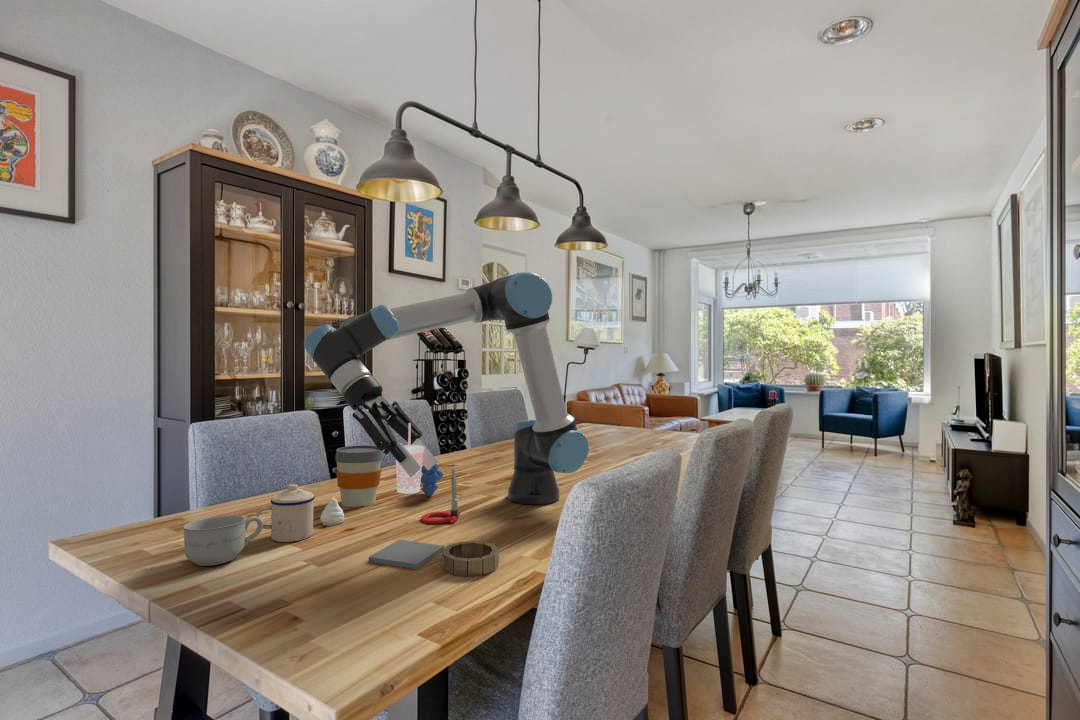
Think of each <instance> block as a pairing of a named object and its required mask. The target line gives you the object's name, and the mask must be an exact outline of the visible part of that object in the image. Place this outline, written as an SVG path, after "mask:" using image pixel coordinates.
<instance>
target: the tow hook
mask: <svg viewBox="0 0 1080 720" xmlns="http://www.w3.org/2000/svg"><path fill="white" fill-rule="evenodd" d="M450 481H451V485H450V486H451V500H450V507H451V508H450V511H443V510H442V511H433V512H427V513H426V514H423V515H422V516H421V517H420V521H421V522H422V523H424V524H428V525H429V524H432V525H434V524H445V523H450V524H454V523H455V522H456V521H457V520H458V518H459V516H460V515H461V512H460V510H459V508H458V506H459V505H458V498H457V477H456V469H455V468H451V478H450ZM440 516H441V517H442V518H433V517H440Z"/></svg>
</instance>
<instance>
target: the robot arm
mask: <svg viewBox="0 0 1080 720" xmlns="http://www.w3.org/2000/svg"><path fill="white" fill-rule="evenodd" d="M552 304H553V291H552V289H551V287H550V285H549V283H548V281H547V280H545V278H544V277H542V276H541V275H539V274H538V273H535V272H532V271H531V272H529V271H524V272H522V271H521V272H516V273H514V274H511V275H507V276H502V277H499V278H496V279H493V280H490V281H489V282H487V283H484V284H481V285H478V286H474V287H470V288H467V290H466V291H465V292H463V293H459V294H455V295H449V296H444V297H441V298H440V297H439V298H436V299H435V298H434V299H431V300H425V301H420V302H417V303H411V304H407V305H402V306H397V307H394V308H393V307H392V308H389V307H388V306H387V305H384V304H379V305H377V306H375V307H373V308H371V309H369V310H368V311H366V312H365V313H363V314H358V315H354V316H348V317H347V318H346V319H344V321H343V322H342V323H341V325H340V326H339V328H337V329H336V328H335V327H333V326H332V325H330V324H322V325H321V326H320V325H318V326H316V327H315V328H313V329H311V331H309V332H308V334H307V335H306V336H305V337H304V338H305V339H304V340H303V347H304V350H305V351H306V352H307V353H308V355H309V356H310V357H311V359H312V361H313V362H314V363H315V365H317V366H318V368H319V369H320V370H321V372H322V373H323V374H324V376H326V378H327V379H328V380H329V381H330V383H331V384H332V385H333V386H334V388H335V389H336V391H337V392H338V393H339V394H340V396H343V399H344V401H345V402H346V403H347V405H348V406H349V407H350V408H351V410H353V411H354V412H353V413H352V414H351V416H352V418H354V419H355V420H356V421H358V422H359V423H358V424H360V425H361V427H362V428H363V429H364V431H365V433H366V434H367V435H368V437H369V438H370V439H371V442H373V443H374V446H377V448H378V449H379V450H380V451H382V454H383V453H384V454H385V455H389V453H390V454H391V455H392V456H393V458H394V459H395V461H396V460H397V461H398V462H399V463H400V465H401V466H402V467H403V468H404V470H405V471H406V472H407V473H408V475H409V476H410V477H412V476H413V475H414V474H415V473H416V472H417V471H418V470H419V469H420V468H421V467H420V466H419V464H418V463H417V462H416V461H415V459H414V458H413V457H412V456H411V454H410V453H409V452H408V451H407V449H406V448H405V447H404V446H403V445H404V444H403V443H402V442H400V443H398V441H397V439H396V437H395V435H394V433H393V431H394V432H395V433H396V434H398V435H399V436H400V437H401V438H402V439H403V440H404V441H405V442H407V443H408V426H409V423H411V445H419V446H424V452H423V457H422V466H423V465H424V466H425V467H426V469H427V470H430V469H431V468H432V467H433V466H434V465H435V464H437V463H438V462H439V461H438V459H436V457H435V456H434V455H433V454H432V453H431V451H430V450H429V448H428V447H426V445H425V444H424V442H423V441H422V440H421V437H422V436H423V432H422V430H420V428H419V427H418V426H417V425H416V424H415V423H414V422H413V421H412V419H411V418H410V417H409V416H408V415H407V414H406V413H405V411H404V410H403V409H402V408H401V406H400V405H399V402H397V401H393V402H391V403H390V402H389V401H388V400H386V399H385V398H384V397H383V396H382V395H383V386H382V385H381V384H380V382H378V381H377V379H376V378H375V377H374V376H372V373H371V372H370V370H369V369H368V368H367V367H366V366H365V365H364V363H363V362H362V361H361V360H360V359H359V358H360V357H361V356H363V355H364V354H366V353H367V352H369V351H371V350H372V349H374V348H376V347H377V346H379V345H381V344H382V343H384V342H386V341H388V340H394V339H398V338H402V337H406V336H411V335H415V334H420V333H424V332H428V331H432V330H437V329H441V328H446V327H449V326H454V325H458V324H462V323H467V322H474V323H476V324H478V323H483V322H489V321H504V325H505V329H506V331H507V332H509V333H510V334H512V335H513V336H514V340H515V344H516V347H517V352H518V355H519V359H520V360H519V361H520V363H521V366H522V372H523V374H524V378H525V382H526V388H527V391H528V393H529V398H530V401H531V402H530V403H531V406H532V409H533V413H534V417H535V419H523V420H518V421H516V422H515V425H514V432H513V434H514V441H513V442H514V450H513V451H514V454H513V455H514V456H513V457H514V459H513V460H514V461H513V462H514V463H513V468H514V469H513V474H512V477H511V481H510V485H509V487H508V489H507V499H508V500H509V501H511V502H514V503H517V504H522V505H547V504H551V503H555V502H558V501H559V500H560V488H559V487H558V484H557V479H556V475H555V473H560V474H567V475H568V474H572V473H575V472H577V471H578V470H579V469H580V468H582V467H583V465H584V464H585V461H586V459H588V455H589V452H590V446H589V440H588V438H587V437H586V435H585V434H583V433H582V432H581V431H580V430H578V428H577V424H576V420H575V419H576V418H575V417H574V416H573V415H571V414H569V413H568V411H567V407H566V402H565V399H564V395H563V394H564V393H563V392H562V391H563V390H562V388H561V383H560V380H559V379H560V378H559V375H558V370H557V366H556V362H555V358H554V354H553V351H552V346H551V342H550V338H549V334H548V331H547V330H548V329H547V326H548V323H550V320H551V318H550V314H549V310H550V309H551V305H552ZM391 429H392V430H393V431H392V430H391Z"/></svg>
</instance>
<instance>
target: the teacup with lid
mask: <svg viewBox="0 0 1080 720" xmlns="http://www.w3.org/2000/svg"><path fill="white" fill-rule="evenodd" d="M314 500H315V495H314V493H312V492H311V491H306V490H304V489H302V488H299V486H298V484H294V483H293V484H288V486H287V489H285V490H283V491H281V492H280V493H277V494H275V495H273V496H271V498H270V504H271V505H267V506H262V507H260V508H259V509H258V510H257V511H256V513H255V516H256V517H259V518H260V515H261V513H262V512H265V511H270V510H271V521H270V522H271V523H270V524H264V523H263V529H264V530H271V531H270V532H271V533H270V534H271V536H270V537H271V539H272V540H273V541H275V542H279V543H294V541H295V542H299V541H303V539H304V540H306V539H309V538H310V537H311V536H313V534H314ZM256 524H257V525H258V523H257V522H256Z"/></svg>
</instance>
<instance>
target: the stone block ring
mask: <svg viewBox="0 0 1080 720" xmlns="http://www.w3.org/2000/svg"><path fill="white" fill-rule="evenodd" d="M441 555H442V557H441V559H442V560H441V562H442V563H441V567H442V570H443V571H444V572H445V571H446V573H448V574H450V575H452V576H455V575H456V577H457V576H458V577H463V578H464V577H465V578H471V577H478V576H479V577H480V576H485V575H488V574H490V573H493V572H495V570H497V568H498V567H499V565H500V564H499V559H500V556H499V555H500V550H499V548H498V547H497V546H496V545H495V544H493V543H489V542H486V541H480V540H466V541H458V542H455V543H451V544H448V545H447V546H445V547H444V549H443V550H442V552H441Z"/></svg>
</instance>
